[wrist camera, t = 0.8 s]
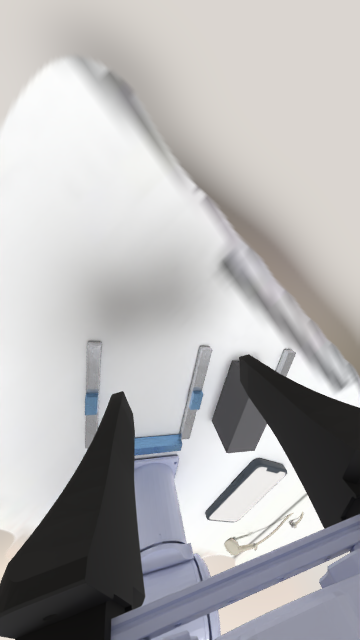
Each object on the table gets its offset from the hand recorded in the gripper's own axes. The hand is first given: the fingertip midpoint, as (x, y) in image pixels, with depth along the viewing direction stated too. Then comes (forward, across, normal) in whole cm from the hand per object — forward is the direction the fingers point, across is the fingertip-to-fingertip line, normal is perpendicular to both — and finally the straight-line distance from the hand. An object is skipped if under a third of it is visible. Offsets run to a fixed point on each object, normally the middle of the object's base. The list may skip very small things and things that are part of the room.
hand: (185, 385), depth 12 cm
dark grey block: (+10, -7, +14) cm, 18 cm away
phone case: (+8, -7, +39) cm, 40 cm away
